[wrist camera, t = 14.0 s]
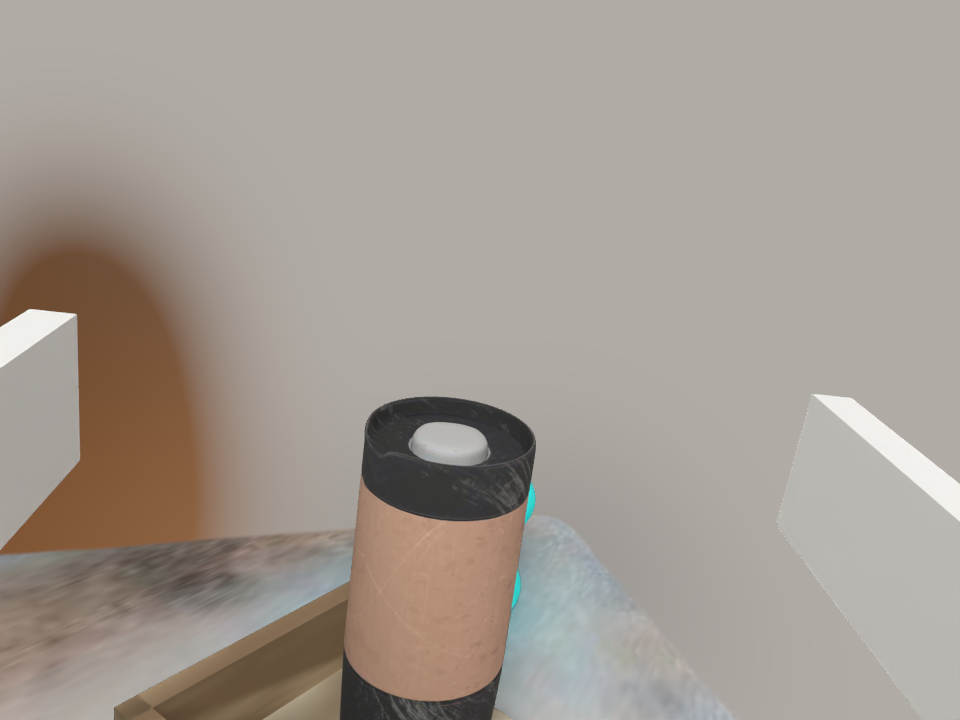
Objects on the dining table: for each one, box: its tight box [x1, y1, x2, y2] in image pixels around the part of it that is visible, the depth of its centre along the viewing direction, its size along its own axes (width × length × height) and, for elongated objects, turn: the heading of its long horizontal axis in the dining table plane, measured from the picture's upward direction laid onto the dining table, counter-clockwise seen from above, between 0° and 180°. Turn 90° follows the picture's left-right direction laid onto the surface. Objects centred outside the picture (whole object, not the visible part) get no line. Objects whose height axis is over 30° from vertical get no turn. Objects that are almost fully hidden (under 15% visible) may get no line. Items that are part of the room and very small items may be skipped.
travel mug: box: [340, 397, 536, 720], centre depth 40 cm, size 8×8×20 cm
